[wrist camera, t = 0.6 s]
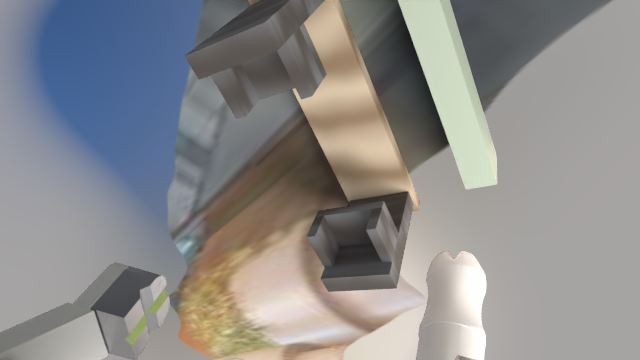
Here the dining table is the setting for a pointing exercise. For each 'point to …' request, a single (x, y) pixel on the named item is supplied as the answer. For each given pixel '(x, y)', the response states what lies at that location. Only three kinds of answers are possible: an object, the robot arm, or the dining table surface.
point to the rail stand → (323, 127)
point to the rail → (452, 88)
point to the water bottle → (453, 309)
